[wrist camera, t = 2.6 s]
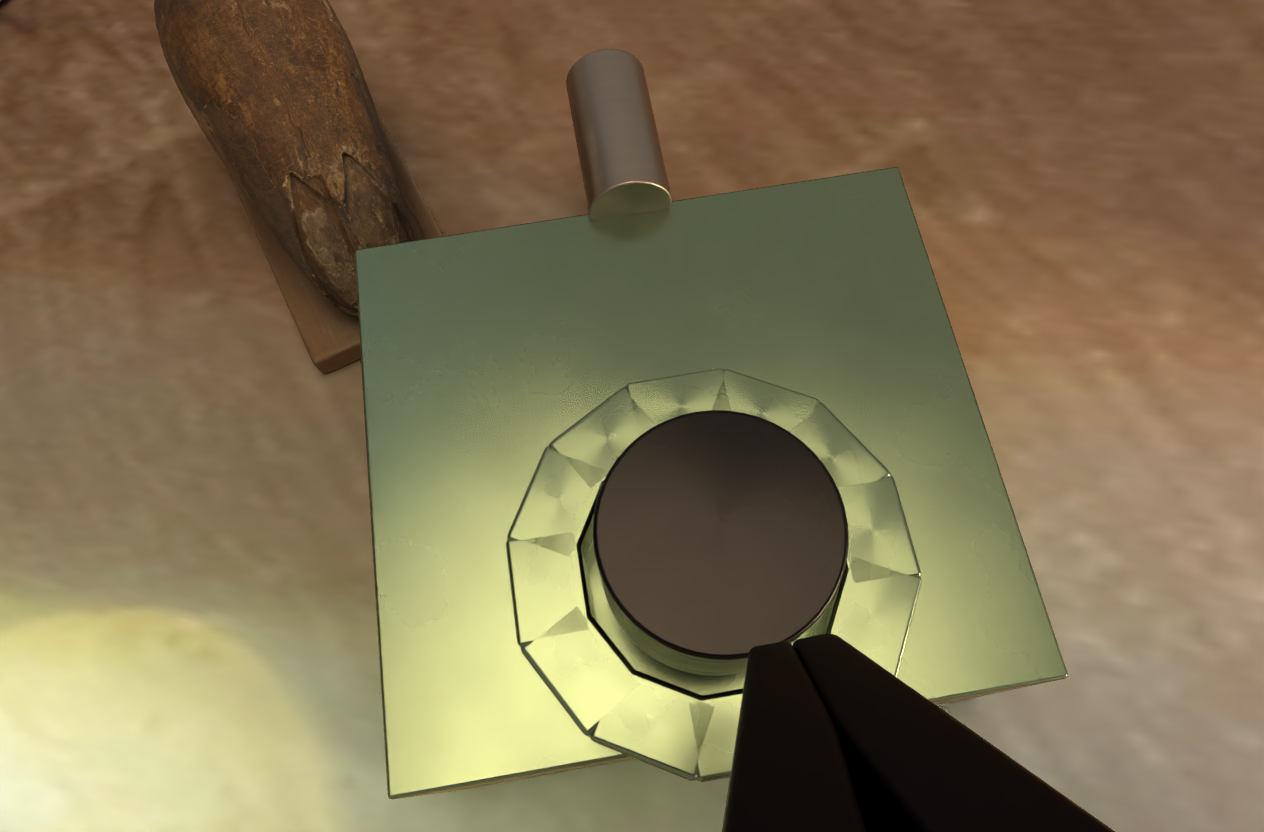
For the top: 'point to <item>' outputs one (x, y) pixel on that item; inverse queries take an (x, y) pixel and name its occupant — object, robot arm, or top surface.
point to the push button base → (617, 415)
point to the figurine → (297, 149)
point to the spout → (616, 135)
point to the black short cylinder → (718, 539)
